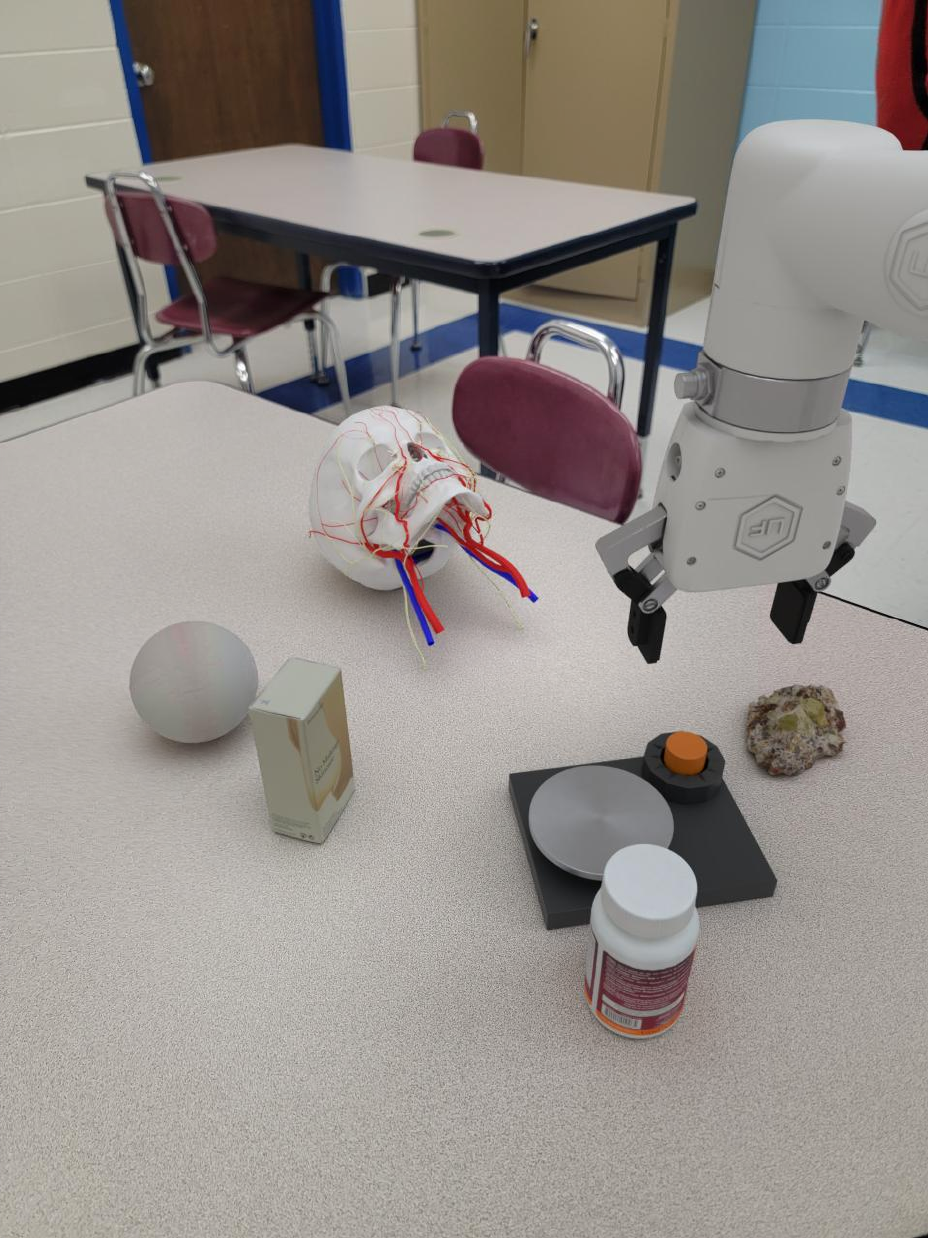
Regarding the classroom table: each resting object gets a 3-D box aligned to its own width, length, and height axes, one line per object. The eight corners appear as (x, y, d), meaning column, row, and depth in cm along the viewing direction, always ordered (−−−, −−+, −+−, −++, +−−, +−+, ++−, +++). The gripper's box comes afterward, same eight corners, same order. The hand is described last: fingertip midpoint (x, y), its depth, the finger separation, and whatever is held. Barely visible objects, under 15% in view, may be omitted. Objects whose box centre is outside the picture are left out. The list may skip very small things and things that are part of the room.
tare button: (695, 745, 70) (698, 729, 69) (710, 773, 67) (713, 756, 66) (658, 750, 69) (660, 733, 68) (671, 778, 67) (674, 761, 66)
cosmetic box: (322, 847, 66) (302, 723, 59) (270, 833, 67) (243, 710, 60) (358, 785, 71) (343, 664, 64) (309, 773, 72) (289, 653, 65)
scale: (701, 759, 73) (707, 727, 71) (773, 896, 62) (783, 863, 60) (507, 784, 71) (507, 752, 69) (546, 930, 60) (548, 897, 58)
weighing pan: (646, 763, 68) (646, 757, 67) (694, 869, 60) (695, 864, 59) (515, 780, 67) (515, 774, 66) (546, 891, 59) (547, 885, 58)
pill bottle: (703, 1017, 55) (732, 901, 48) (617, 1060, 53) (635, 945, 46) (645, 938, 60) (665, 822, 53) (564, 974, 58) (574, 858, 51)
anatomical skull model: (416, 560, 70) (276, 398, 84) (404, 710, 83) (285, 550, 97) (577, 501, 77) (424, 361, 91) (543, 648, 91) (414, 507, 104)
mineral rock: (766, 663, 79) (861, 676, 74) (770, 703, 81) (864, 719, 76) (714, 735, 72) (816, 756, 67) (721, 778, 74) (820, 801, 69)
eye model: (138, 706, 79) (110, 613, 73) (253, 677, 82) (235, 586, 76) (151, 783, 72) (121, 686, 66) (277, 748, 75) (259, 653, 69)
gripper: (639, 431, 44) (606, 697, 54) (959, 402, 46) (869, 659, 57) (591, 373, 49) (569, 622, 60) (877, 350, 52) (809, 592, 62)
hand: (715, 640), depth 58 cm, fingers open, 9 cm apart
